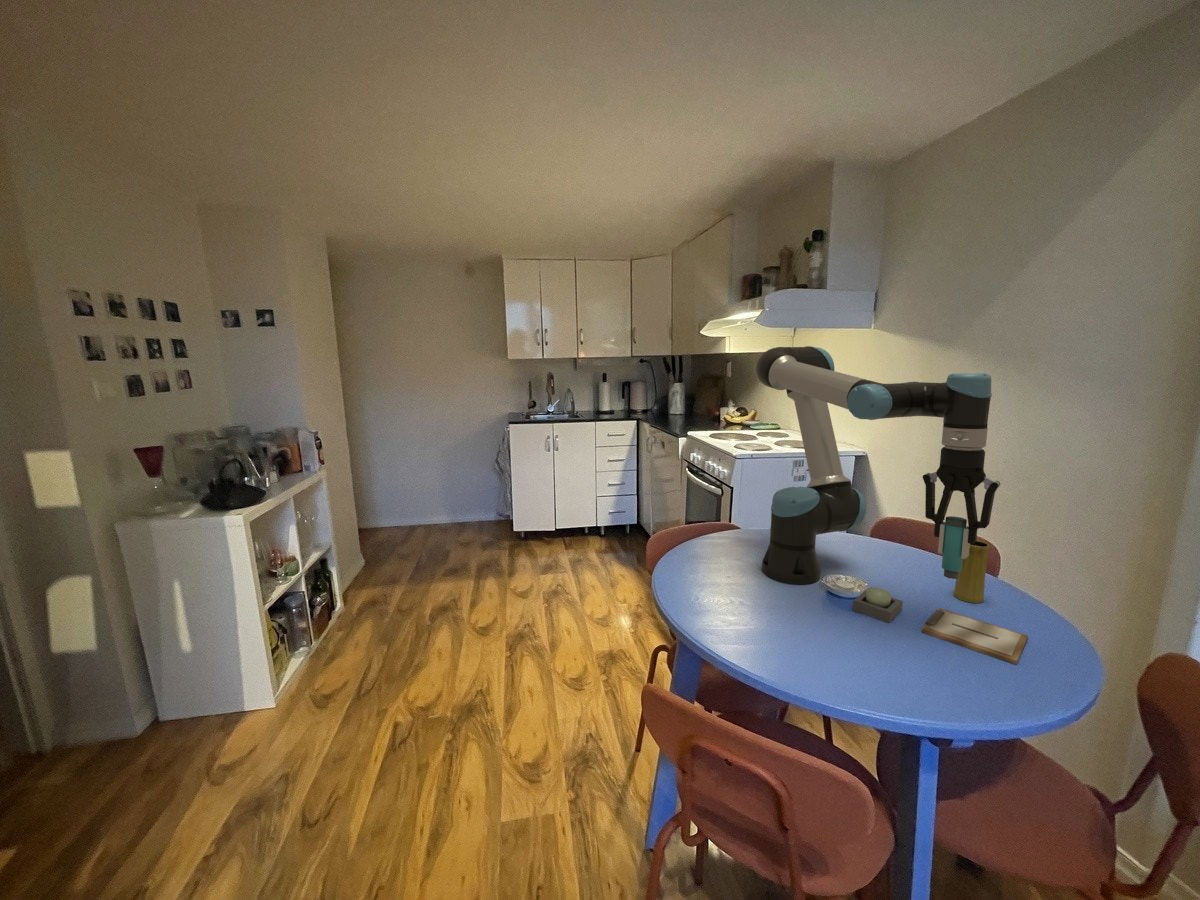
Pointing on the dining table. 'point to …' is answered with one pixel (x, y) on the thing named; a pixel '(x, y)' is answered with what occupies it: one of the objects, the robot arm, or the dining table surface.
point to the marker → (953, 546)
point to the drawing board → (976, 635)
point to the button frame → (877, 608)
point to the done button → (878, 597)
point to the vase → (973, 574)
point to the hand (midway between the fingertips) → (953, 554)
